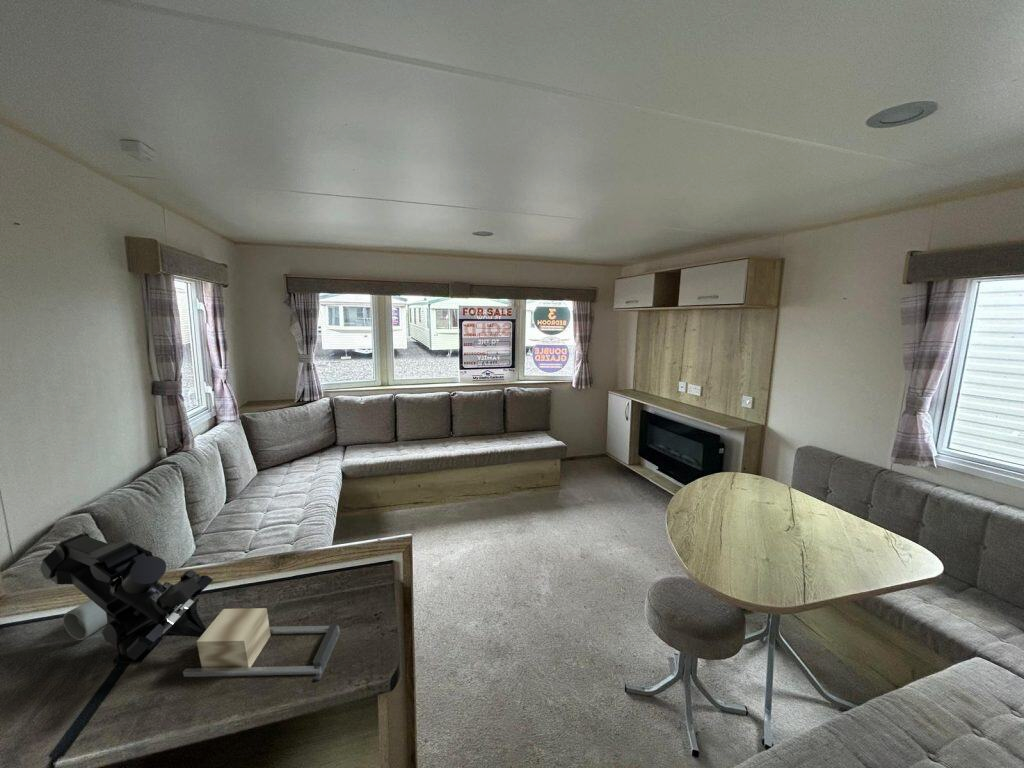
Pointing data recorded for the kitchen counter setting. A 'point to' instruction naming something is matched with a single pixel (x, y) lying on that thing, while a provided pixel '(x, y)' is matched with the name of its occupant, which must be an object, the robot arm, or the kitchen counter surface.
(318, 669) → the graphite track
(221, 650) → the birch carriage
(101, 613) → the grey hollow cylinder
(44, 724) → the kitchen counter surface
